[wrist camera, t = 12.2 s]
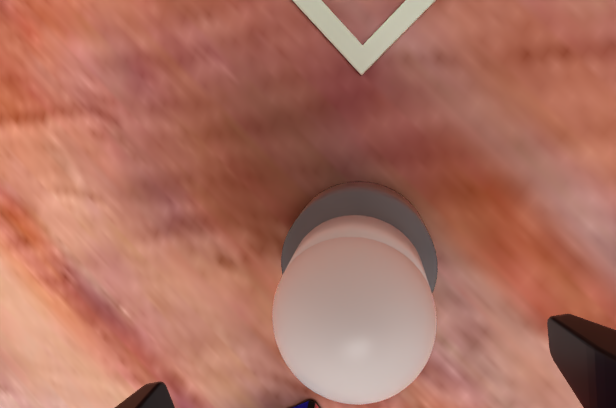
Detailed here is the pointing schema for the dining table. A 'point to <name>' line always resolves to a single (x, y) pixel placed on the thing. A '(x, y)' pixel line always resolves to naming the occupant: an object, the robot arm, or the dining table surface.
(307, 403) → the puzzle cube
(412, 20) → the frame
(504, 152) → the dining table surface
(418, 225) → the dome base
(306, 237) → the dome
